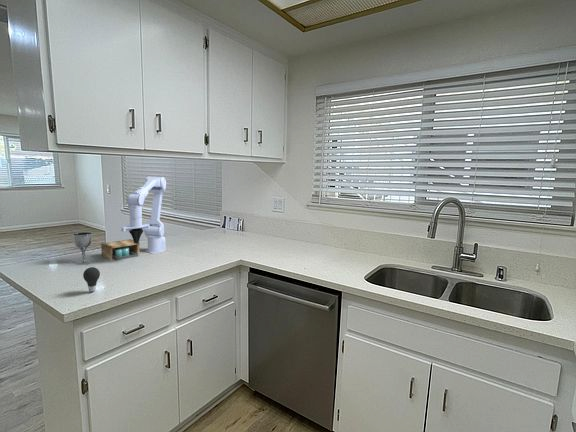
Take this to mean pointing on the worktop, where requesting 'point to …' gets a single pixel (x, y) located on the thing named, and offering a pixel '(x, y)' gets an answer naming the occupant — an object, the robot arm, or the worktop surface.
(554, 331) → the worktop surface
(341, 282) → the worktop surface
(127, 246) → the shelf
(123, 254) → the teal rounded cylinder
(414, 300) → the worktop surface
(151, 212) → the robot arm
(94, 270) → the light bulb
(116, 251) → the teal rounded capsule
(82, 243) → the wine glass
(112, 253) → the tray
